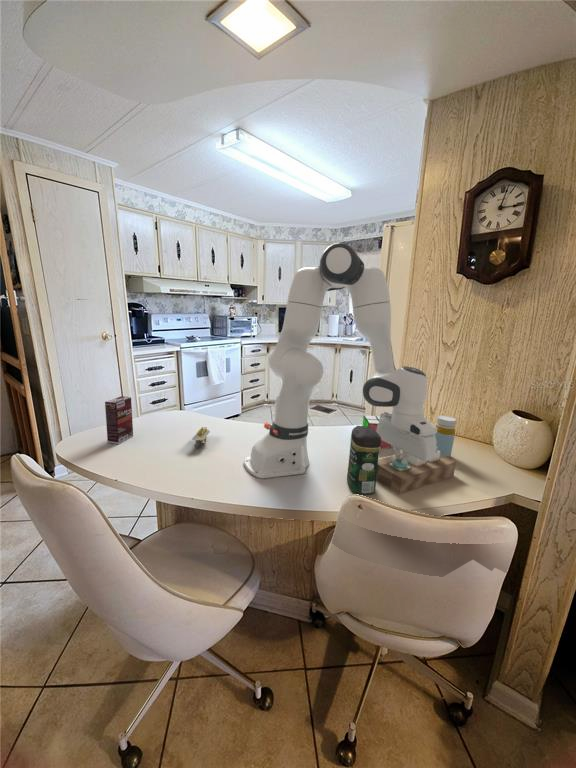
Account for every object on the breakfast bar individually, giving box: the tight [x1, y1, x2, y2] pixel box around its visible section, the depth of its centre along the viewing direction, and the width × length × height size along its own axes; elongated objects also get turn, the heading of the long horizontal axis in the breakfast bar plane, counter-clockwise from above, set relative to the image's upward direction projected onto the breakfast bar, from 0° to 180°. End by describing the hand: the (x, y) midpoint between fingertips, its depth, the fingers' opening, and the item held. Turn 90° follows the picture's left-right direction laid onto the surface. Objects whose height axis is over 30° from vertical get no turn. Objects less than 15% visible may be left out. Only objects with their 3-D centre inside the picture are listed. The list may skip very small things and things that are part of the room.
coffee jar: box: [346, 425, 381, 495], centre depth 93 cm, size 10×8×19 cm
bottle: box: [433, 415, 457, 459], centre depth 118 cm, size 7×7×15 cm
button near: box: [389, 459, 411, 471], centre depth 99 cm, size 5×5×6 cm
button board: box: [376, 452, 457, 495], centre depth 103 cm, size 26×12×5 cm, turn 119°
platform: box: [191, 426, 211, 450], centre depth 117 cm, size 12×18×7 cm, turn 175°
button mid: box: [406, 455, 425, 467], centre depth 102 cm, size 5×5×6 cm
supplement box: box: [104, 395, 134, 445], centre depth 117 cm, size 9×5×16 cm, turn 169°
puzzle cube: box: [361, 414, 392, 449], centre depth 127 cm, size 10×10×10 cm
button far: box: [428, 446, 440, 462], centre depth 105 cm, size 5×5×6 cm
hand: (400, 461), depth 99 cm, fingers closed, pressing on button near
